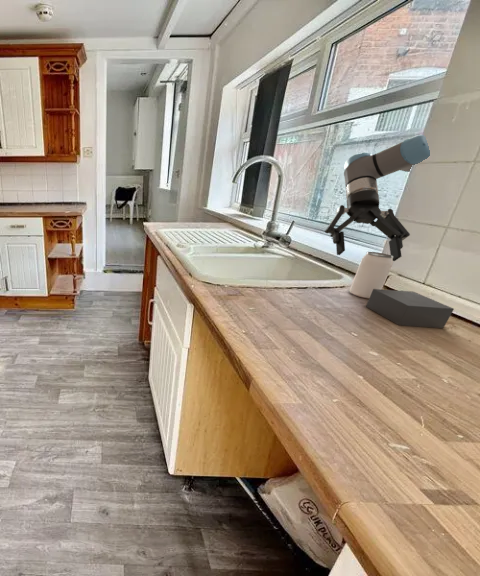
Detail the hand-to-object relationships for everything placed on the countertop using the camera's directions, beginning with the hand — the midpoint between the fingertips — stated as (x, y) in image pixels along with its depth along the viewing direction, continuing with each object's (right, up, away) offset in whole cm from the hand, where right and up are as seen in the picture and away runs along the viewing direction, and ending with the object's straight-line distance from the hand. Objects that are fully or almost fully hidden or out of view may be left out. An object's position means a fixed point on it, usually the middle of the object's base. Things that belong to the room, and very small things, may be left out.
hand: (368, 255), depth 88 cm
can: (-2, -11, 0) cm, 12 cm away
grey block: (-3, -16, -13) cm, 21 cm away
